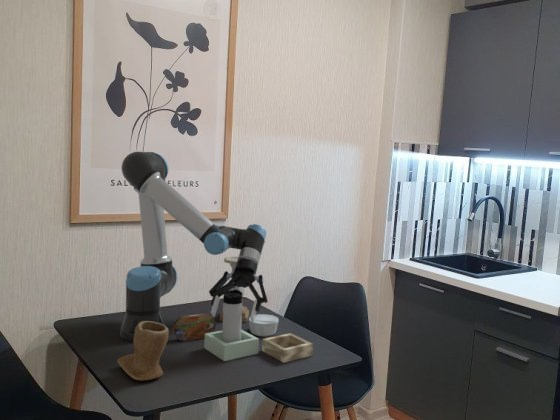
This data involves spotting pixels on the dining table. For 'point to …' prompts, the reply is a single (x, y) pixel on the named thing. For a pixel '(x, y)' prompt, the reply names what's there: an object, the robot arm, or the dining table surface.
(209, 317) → the tin
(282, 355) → the brown square tray
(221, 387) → the dining table surface
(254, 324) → the ramekin
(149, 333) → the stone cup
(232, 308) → the travel mug
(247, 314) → the candle holder
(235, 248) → the robot arm
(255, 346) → the mint green square tray
